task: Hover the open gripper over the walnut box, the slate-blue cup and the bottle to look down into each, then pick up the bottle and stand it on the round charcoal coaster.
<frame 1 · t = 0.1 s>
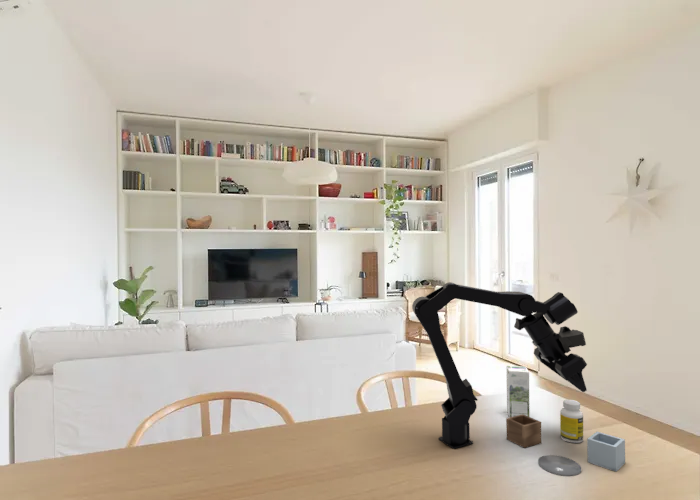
hand: (576, 385, 112), 15 cm above the table, tool tilted 30°, fingers open, 9 cm apart
syrup box: (518, 416, 130), on the table
slate cup: (606, 462, 101), on the table
coaster: (559, 465, 100), on the table
walnut box: (523, 441, 113), on the table
supplement bottle: (571, 439, 114), on the table
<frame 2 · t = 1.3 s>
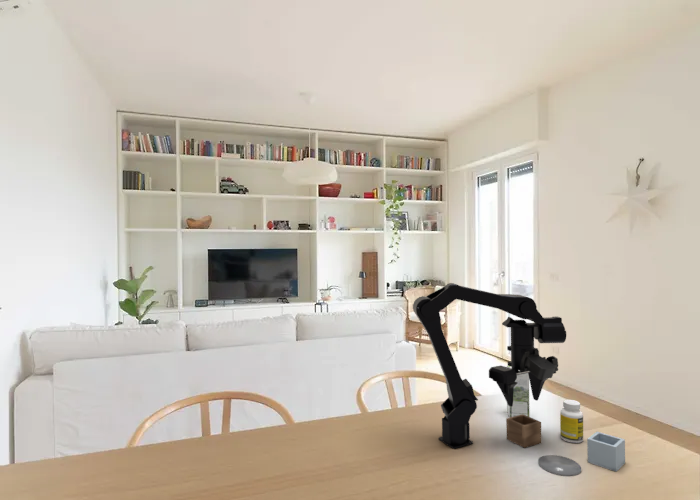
hand: (523, 403, 113), 10 cm above the table, tool pointing down, fingers open, 9 cm apart
nothing on the table moved.
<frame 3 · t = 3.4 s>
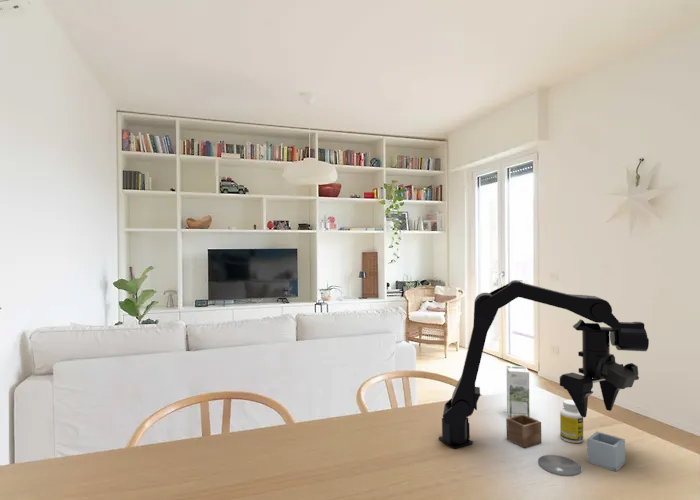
hand: (596, 413, 104), 10 cm above the table, tool pointing down, fingers open, 9 cm apart
nothing on the table moved.
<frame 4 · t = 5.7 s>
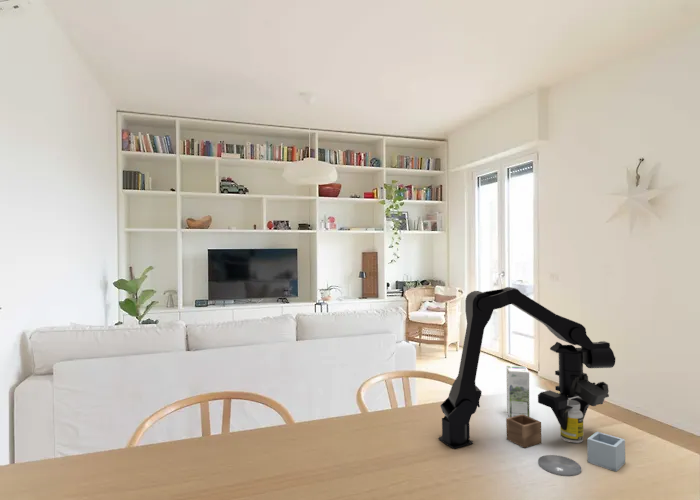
hand: (571, 427, 114), 3 cm above the table, tool pointing down, fingers closed on supplement bottle, 5 cm apart
supplement bottle: (571, 439, 114), on the table, touching gripper
everything else where it was.
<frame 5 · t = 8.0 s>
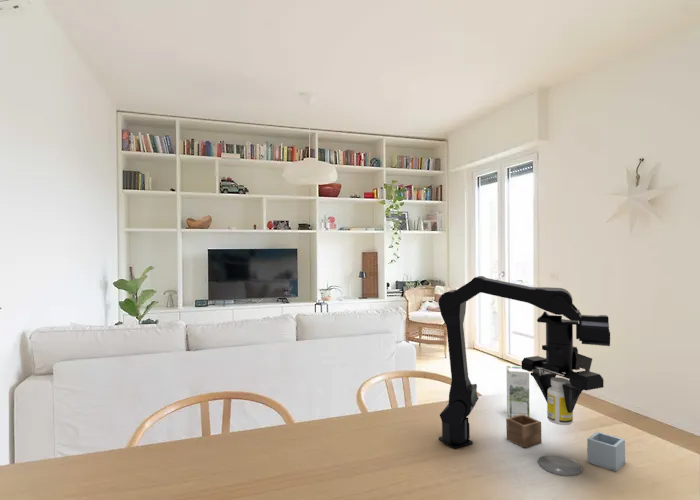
hand: (559, 408, 102), 13 cm above the table, tool pointing down, fingers closed on supplement bottle, 5 cm apart
supplement bottle: (559, 421, 102), point 10 cm above the table, touching gripper
everything else where it was.
when the fingers open (4 cm above the table, at t = 10.3 s): supplement bottle stays where it is, resting on coaster.
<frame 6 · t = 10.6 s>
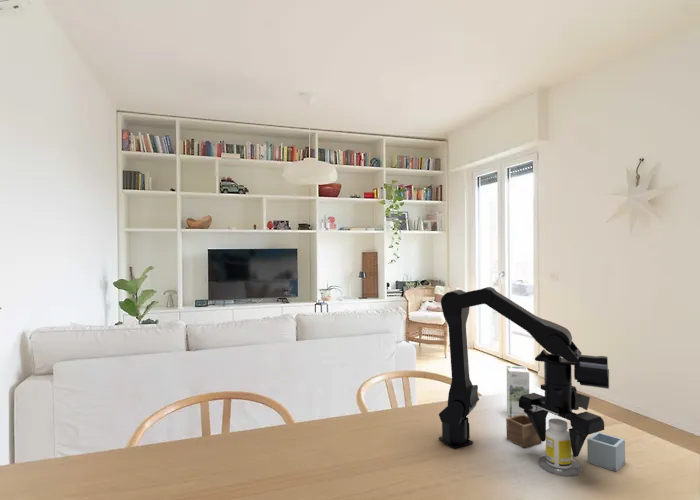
hand: (558, 448, 100), 4 cm above the table, tool pointing down, fingers open, 8 cm apart
supplement bottle: (558, 464, 100), resting on coaster
everything else where it was.
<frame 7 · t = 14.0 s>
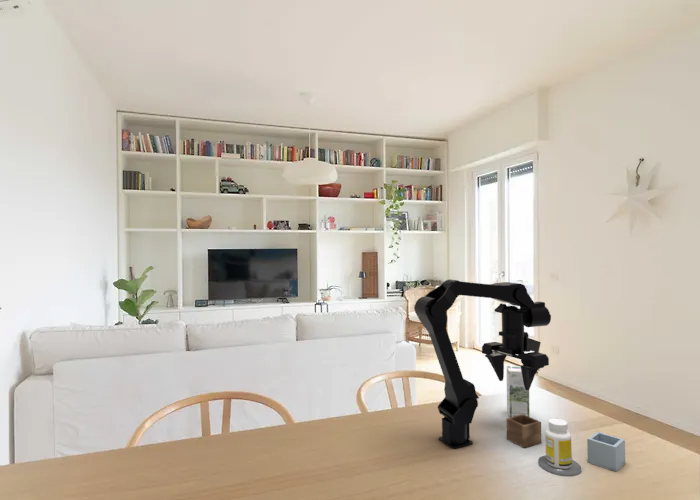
hand: (513, 385, 118), 13 cm above the table, tool pointing down, fingers open, 9 cm apart
nothing on the table moved.
at the end: supplement bottle 0.2 cm from the coaster (horizontally); supplement bottle tilted 0°; the gripper is holding nothing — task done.
